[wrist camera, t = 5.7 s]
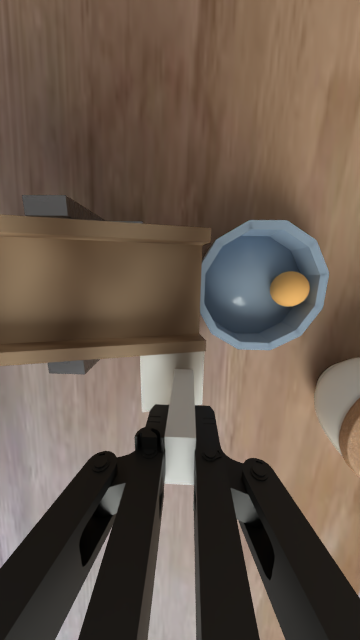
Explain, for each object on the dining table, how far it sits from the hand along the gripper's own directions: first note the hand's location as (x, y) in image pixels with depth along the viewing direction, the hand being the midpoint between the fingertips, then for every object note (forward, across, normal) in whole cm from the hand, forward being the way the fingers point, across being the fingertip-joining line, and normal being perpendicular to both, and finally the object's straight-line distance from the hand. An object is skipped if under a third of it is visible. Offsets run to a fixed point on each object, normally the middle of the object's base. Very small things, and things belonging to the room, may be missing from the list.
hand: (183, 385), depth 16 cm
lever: (-1, -8, +4) cm, 9 cm away
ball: (+5, +9, +7) cm, 13 cm away
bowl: (+7, +6, +7) cm, 12 cm away
